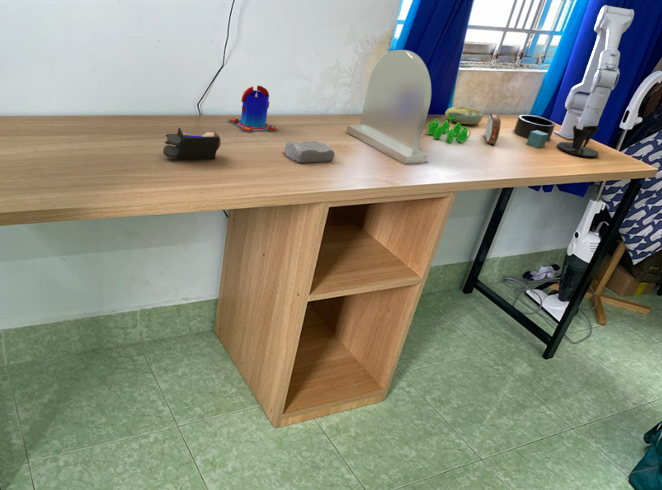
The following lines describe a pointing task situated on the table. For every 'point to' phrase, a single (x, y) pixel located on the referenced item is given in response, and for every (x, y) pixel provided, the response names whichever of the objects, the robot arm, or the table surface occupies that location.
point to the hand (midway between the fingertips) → (578, 147)
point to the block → (537, 139)
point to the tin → (492, 128)
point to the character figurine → (192, 146)
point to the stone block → (309, 152)
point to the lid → (581, 151)
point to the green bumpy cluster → (447, 130)
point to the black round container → (533, 125)
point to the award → (396, 107)
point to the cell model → (464, 115)
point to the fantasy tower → (254, 110)
